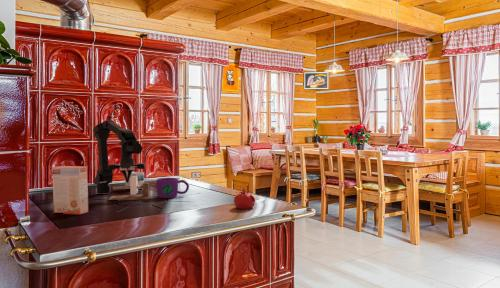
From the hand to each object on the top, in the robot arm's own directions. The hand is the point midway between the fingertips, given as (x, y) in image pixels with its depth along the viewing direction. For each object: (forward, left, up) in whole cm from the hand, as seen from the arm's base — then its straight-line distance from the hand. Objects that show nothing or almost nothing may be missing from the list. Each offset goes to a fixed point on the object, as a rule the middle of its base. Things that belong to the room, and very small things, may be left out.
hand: (127, 182), depth 211 cm
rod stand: (+1, 0, -9) cm, 9 cm away
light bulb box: (0, +33, -9) cm, 34 cm away
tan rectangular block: (+3, 0, -6) cm, 7 cm away
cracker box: (-20, -33, -9) cm, 40 cm away
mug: (+24, -1, -9) cm, 25 cm away
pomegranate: (+57, -41, -9) cm, 71 cm away
